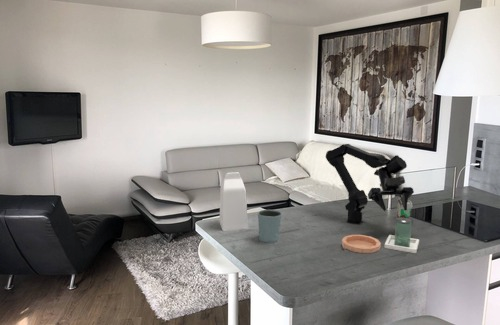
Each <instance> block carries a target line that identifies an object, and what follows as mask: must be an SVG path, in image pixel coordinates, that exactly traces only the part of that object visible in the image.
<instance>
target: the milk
mask: <svg viewBox="0 0 500 325" xmlns="http://www.w3.org/2000/svg"><path fill="white" fill-rule="evenodd" d="M219 188H220V190H219V192H220V195H219V224H220V227H221V229H222V231H223V232H224V231H225V232H226V231H237V230H239V231H241V230H249V222H248V220H249V219H248V205H247V203H248V202H247V191H246V186H245V184H244V180H243V178H242V176H241V174H240V172H237V171H236V172H226V174H225V176H224V178H223V179H222V182H221V184H220V187H219Z"/></svg>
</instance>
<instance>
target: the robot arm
mask: <svg viewBox="0 0 500 325" xmlns="http://www.w3.org/2000/svg"><path fill="white" fill-rule="evenodd" d="M346 155H350V156H352V157H354V158H357V159H358V160H361V161H363V162H365V165H367V166H368V167H369V168H372V169H376V170H375V171H374V173H373V174H374V176H378V178H379V182H380V184H379V187H371V188H370V190H368V193H367V195H366V192H365V190H364V189H361V190H360V189H359V188H358V187H357V185H356V183H355V181H354V179H353V178H352V176H351V173H350V172H349V170H348V168H347V166H346V165H345V157H344V156H346ZM325 159H326V161H327V162H328V164H330V166H332V167H333V168H334V169H335V170H336V172H337V174H338V176H339V178H340V180H341V182H342V183H343V186H344V187H345V189H346V191H347V193H348V196H347V200H348V201H349V202H348V203H346V204H345V210H346V211H347V220H346V223H352V224H356V225H357V224H358V225H360V224H361V223H362V222H363V220H364V212H363V210H364V209H365V208H366V206H367V205H368V202H369V201H368V200H371V201H372V202H374V203H376V204H377V205H378V206H379V207H380V208H381V210H383V211H384V212H386V211H387V209H386V204H385V201H384V198H383V196H399V198H401V199H400V200H401V202H402V205H403V208H404V210H405V211H406V210H407V201H408V200H409V199H410V198H411V196H412V195H413V194H414V192H415V191H414V188H413V187H412V186H405V187H402V188H401V189H399V188H400V186H402V185H403V184H405V183H406V180H405V176H404V175H400V176H397V177H393V176H394V175H397V174H399V173H400V172H402V171H404V170H405V169H406V168H407V167H408V165H407V162H406V160H404V159H403V158H402V157H401V156H399V155H398V154H397V155H394V156H393V157H392V158H391V159H389V158H387V157H385V155H383V154H381V153H376V152H375V153H374V152H368V151H366V150H363V149H361V148H359V147H356V146H354V145H351V144H350V143H343V144H341V145H340V146H338V147H335V148H333V149H330V150H327V151H326V153H325ZM378 168H379V169H378ZM398 189H399V190H398Z"/></svg>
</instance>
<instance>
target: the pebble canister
mask: <svg viewBox="0 0 500 325" xmlns="http://www.w3.org/2000/svg"><path fill="white" fill-rule="evenodd" d="M412 221H413V220H412V219H410V218H409V219H408V218H402V217H400V218H397V217H396V218H395V225H394V226H395V230H394V236H395V240H394V245H397V246H403V247H410V238H411V235H412V234H411V233H412V223H413V222H412Z"/></svg>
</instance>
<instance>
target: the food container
mask: <svg viewBox="0 0 500 325" xmlns="http://www.w3.org/2000/svg"><path fill="white" fill-rule="evenodd" d="M400 199H401V197H397V200H396V201H397V206H396V218H400V217H402V218H408V219H410V216H411V211H412V208H413V206H414V205H413V203H412V201H411V200H409V199H408V201H407V210H406V211H405V210H404V208H403V205H402V202H401V200H400Z"/></svg>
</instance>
